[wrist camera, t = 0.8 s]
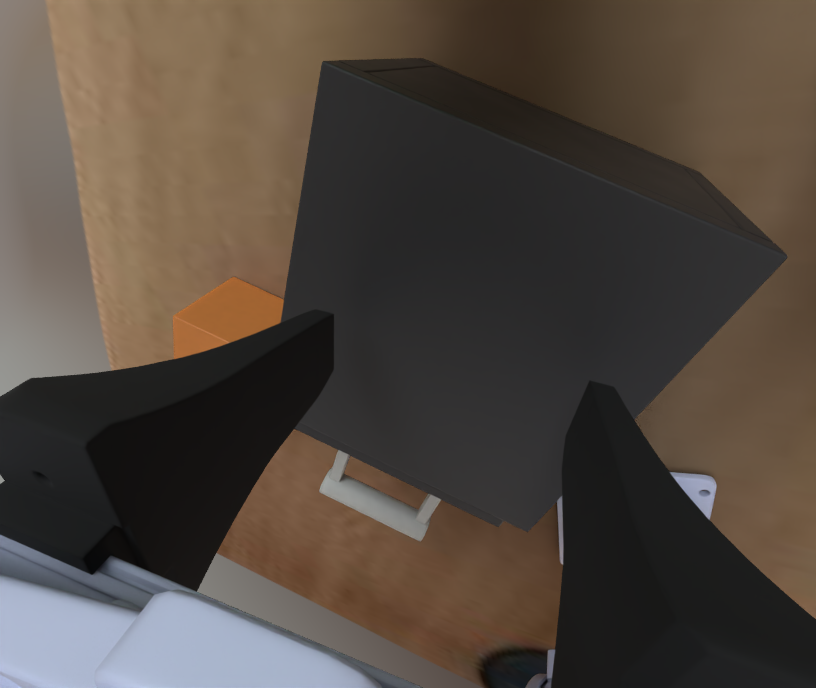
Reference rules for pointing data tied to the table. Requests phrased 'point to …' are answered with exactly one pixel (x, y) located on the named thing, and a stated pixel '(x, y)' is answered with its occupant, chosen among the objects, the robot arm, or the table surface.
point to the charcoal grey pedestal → (497, 275)
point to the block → (224, 317)
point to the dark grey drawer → (379, 502)
